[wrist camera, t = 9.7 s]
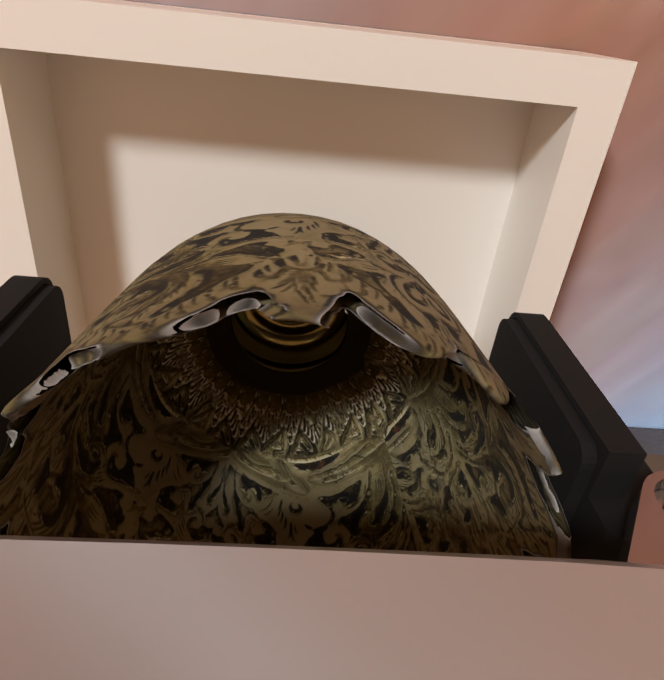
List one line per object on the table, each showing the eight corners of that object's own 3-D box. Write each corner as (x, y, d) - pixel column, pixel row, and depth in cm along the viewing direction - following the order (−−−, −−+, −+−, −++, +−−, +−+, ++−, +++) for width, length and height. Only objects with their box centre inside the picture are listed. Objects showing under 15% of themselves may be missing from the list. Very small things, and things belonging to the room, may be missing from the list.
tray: (578, 51, 12) (637, 62, 10) (459, 459, 18) (479, 523, 16) (4, -13, 11) (-72, -17, 9) (83, 440, 17) (50, 504, 15)
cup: (335, 443, 17) (354, 757, 10) (94, 334, 14) (-101, 645, 7) (503, 243, 13) (704, 504, 7) (226, 60, 11) (94, 171, 4)
